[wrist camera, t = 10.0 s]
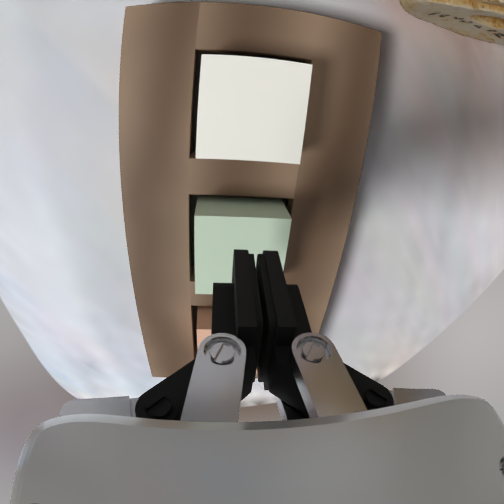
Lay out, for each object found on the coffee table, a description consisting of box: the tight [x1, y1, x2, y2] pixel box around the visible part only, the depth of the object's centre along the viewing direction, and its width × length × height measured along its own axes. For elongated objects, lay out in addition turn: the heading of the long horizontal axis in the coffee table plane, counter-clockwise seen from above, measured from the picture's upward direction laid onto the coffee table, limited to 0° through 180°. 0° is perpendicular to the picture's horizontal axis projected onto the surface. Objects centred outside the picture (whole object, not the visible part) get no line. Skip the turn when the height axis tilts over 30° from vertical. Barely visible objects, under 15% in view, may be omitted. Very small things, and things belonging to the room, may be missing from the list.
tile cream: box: [196, 54, 312, 164], centre depth 12 cm, size 4×4×2 cm
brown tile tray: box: [119, 2, 382, 378], centre depth 17 cm, size 12×24×2 cm, turn 175°
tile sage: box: [194, 196, 292, 294], centre depth 16 cm, size 4×4×2 cm
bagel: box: [399, 0, 504, 45], centre depth 7 cm, size 10×4×10 cm, turn 91°
